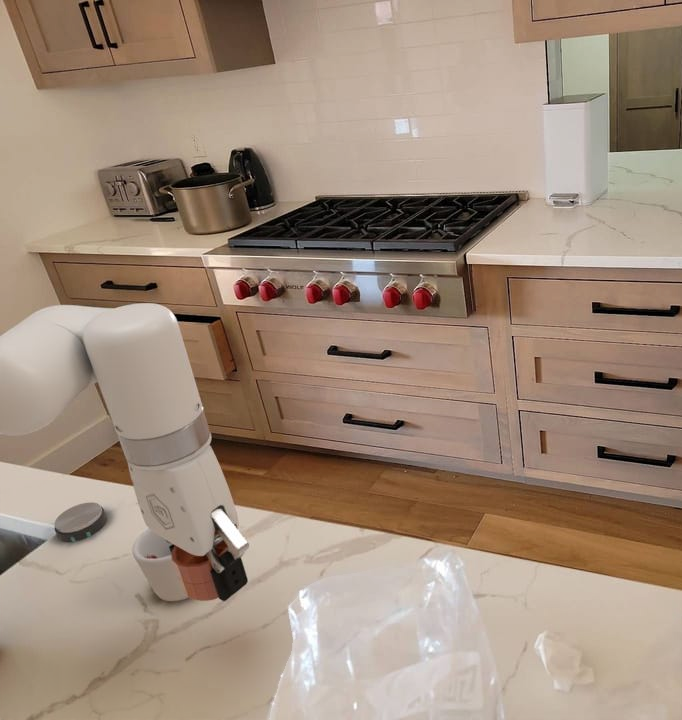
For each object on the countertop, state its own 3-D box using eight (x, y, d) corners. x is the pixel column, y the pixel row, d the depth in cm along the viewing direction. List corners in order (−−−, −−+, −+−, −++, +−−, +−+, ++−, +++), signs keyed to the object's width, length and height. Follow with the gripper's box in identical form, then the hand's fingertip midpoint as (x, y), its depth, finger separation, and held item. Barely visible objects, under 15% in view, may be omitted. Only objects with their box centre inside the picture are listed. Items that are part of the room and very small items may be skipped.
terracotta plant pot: (186, 612, 68) (173, 575, 66) (182, 574, 73) (169, 538, 71) (247, 590, 70) (236, 553, 68) (239, 554, 75) (229, 519, 73)
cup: (152, 563, 90) (133, 516, 87) (214, 543, 93) (198, 496, 89) (151, 620, 81) (130, 570, 78) (220, 596, 84) (203, 546, 80)
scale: (58, 552, 94) (50, 536, 93) (61, 526, 99) (54, 511, 98) (108, 536, 96) (101, 520, 95) (109, 511, 102) (103, 496, 100)
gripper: (79, 430, 65) (135, 571, 73) (185, 483, 56) (236, 638, 64) (150, 396, 71) (195, 531, 79) (258, 439, 62) (296, 586, 70)
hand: (213, 577), depth 71 cm, fingers closed on terracotta plant pot, 6 cm apart
